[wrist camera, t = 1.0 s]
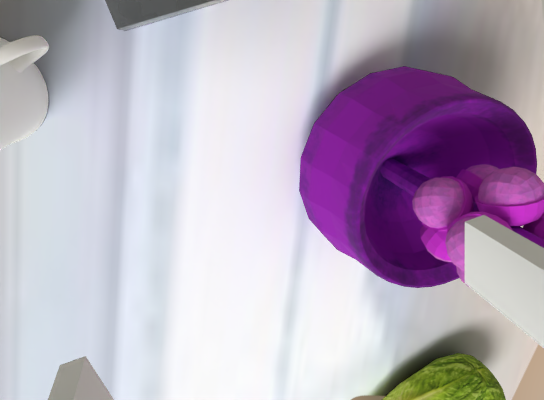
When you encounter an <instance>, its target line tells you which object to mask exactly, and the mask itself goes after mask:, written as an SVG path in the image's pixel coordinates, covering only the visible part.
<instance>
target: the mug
mask: <svg viewBox="0 0 544 400" xmlns="http://www.w3.org/2000/svg"><path fill="white" fill-rule="evenodd" d="M48 49H49V45H48V43H47V41H46V40H45V39H44V38H43V37H41V36H38V35H34V36H28V37H24V38H21V39H18V40H15V41H12V42H9V41H7V40H5V39H3V38H1V37H0V150H2V149H4V148H5V147H7V146H8V145H10V144H11V143H15V142H18V141H21V140H23V139H25V138H27V137H29V136H30V135H32V134H33V133H34V132H35V131H36V130H37V129H38V128H39V127H40V126H41V124H42V123H43V121H44V119H45V117H46V114H47V110H48V91H47V87H46V84H45V81H44V78H43V76H42V74H41V72H40V71H39V69H38V68H37V66H36V65H35V64H34V62H35V61H36V60H38V59H39V58H40V57H42V56H43V55H44V54H45V53H46V52H47V51H48Z"/></svg>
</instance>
